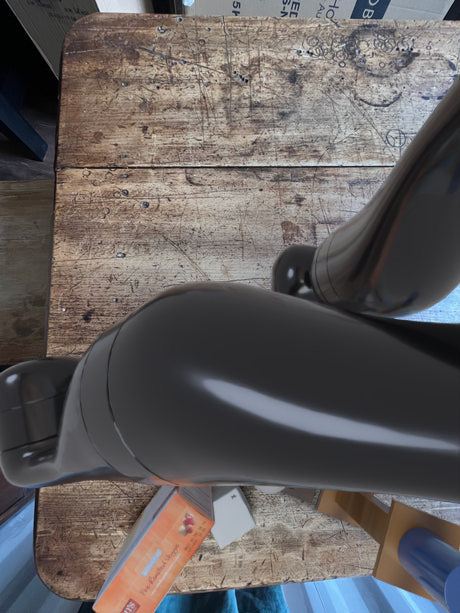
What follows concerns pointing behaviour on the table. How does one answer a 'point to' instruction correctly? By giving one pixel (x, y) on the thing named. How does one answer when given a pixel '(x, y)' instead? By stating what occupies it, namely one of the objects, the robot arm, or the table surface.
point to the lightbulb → (269, 489)
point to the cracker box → (157, 549)
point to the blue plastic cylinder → (432, 566)
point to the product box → (230, 514)
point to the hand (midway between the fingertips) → (267, 480)
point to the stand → (387, 530)
